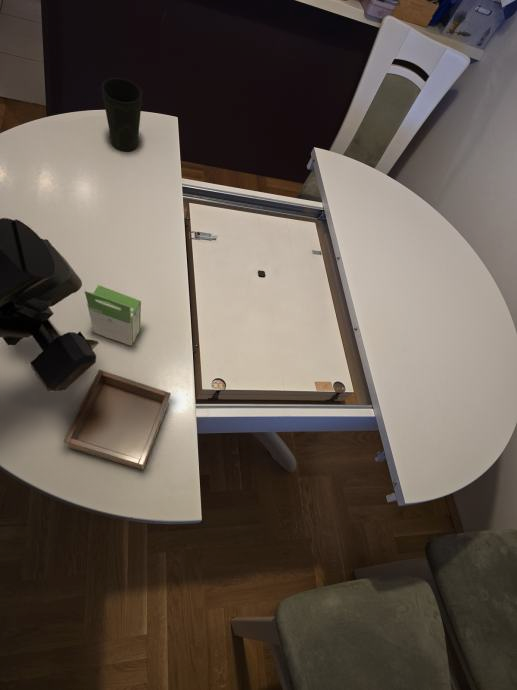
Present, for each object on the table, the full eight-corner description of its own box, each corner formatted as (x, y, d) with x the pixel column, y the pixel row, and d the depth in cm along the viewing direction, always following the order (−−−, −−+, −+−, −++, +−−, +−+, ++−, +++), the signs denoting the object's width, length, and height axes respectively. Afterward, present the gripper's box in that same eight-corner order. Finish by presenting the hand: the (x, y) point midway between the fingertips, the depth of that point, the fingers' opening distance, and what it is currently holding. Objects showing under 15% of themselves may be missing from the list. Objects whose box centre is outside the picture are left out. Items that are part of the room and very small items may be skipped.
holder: (69, 447, 58) (63, 441, 54) (102, 380, 64) (99, 369, 60) (143, 470, 60) (143, 465, 55) (168, 402, 65) (170, 393, 61)
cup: (104, 130, 87) (98, 75, 77) (139, 131, 90) (138, 78, 79) (109, 155, 84) (104, 102, 74) (145, 155, 87) (145, 104, 77)
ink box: (141, 328, 69) (141, 287, 58) (132, 347, 67) (130, 308, 56) (103, 314, 69) (95, 269, 57) (93, 332, 67) (82, 290, 55)
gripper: (81, 326, 35) (159, 332, 50) (-28, 178, 37) (78, 227, 53) (0, 403, 37) (100, 386, 52) (-100, 256, 39) (23, 282, 54)
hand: (76, 318), depth 53 cm, fingers open, 9 cm apart
